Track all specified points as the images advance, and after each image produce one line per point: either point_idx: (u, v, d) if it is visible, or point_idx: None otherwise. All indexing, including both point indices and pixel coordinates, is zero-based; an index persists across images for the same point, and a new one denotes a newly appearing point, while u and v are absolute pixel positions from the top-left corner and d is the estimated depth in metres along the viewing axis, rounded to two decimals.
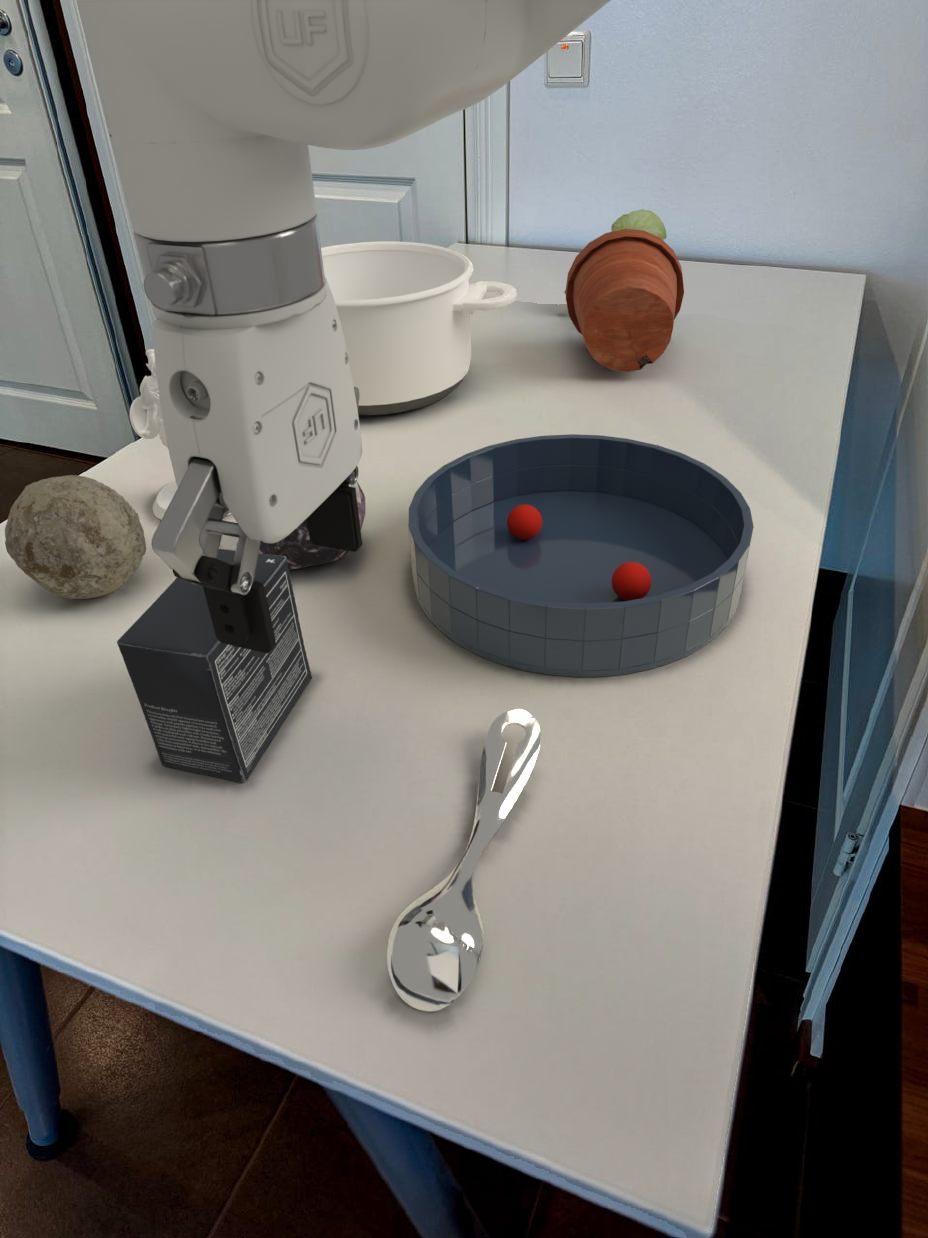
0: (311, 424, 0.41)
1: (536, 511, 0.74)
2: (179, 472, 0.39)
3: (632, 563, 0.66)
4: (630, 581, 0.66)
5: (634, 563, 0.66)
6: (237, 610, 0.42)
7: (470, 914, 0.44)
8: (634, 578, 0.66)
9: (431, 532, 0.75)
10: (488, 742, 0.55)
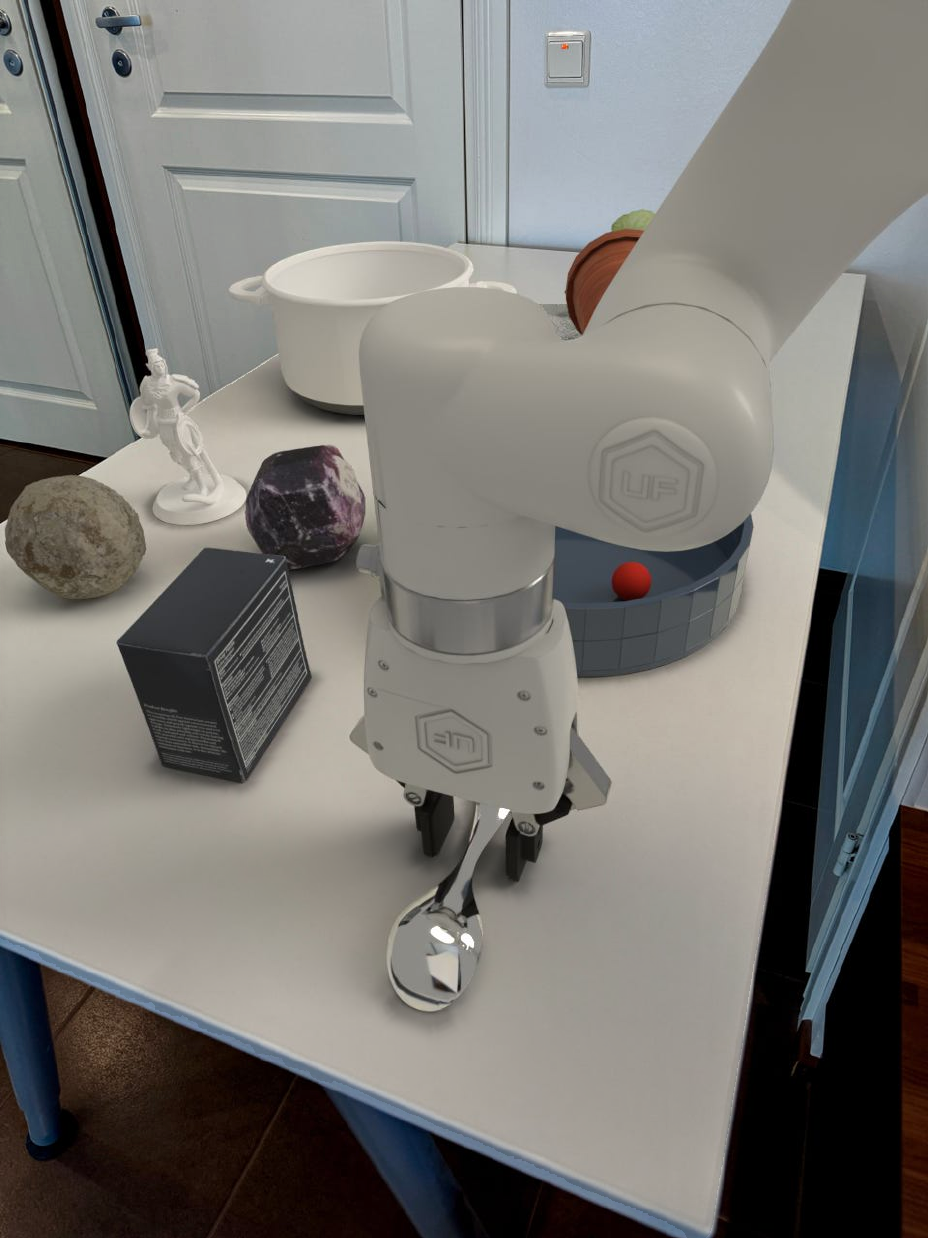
0: (446, 736, 0.41)
1: None
2: None
3: (632, 563, 0.66)
4: (630, 581, 0.66)
5: (634, 563, 0.66)
6: (414, 807, 0.49)
7: (470, 914, 0.44)
8: (634, 578, 0.66)
9: None
10: None
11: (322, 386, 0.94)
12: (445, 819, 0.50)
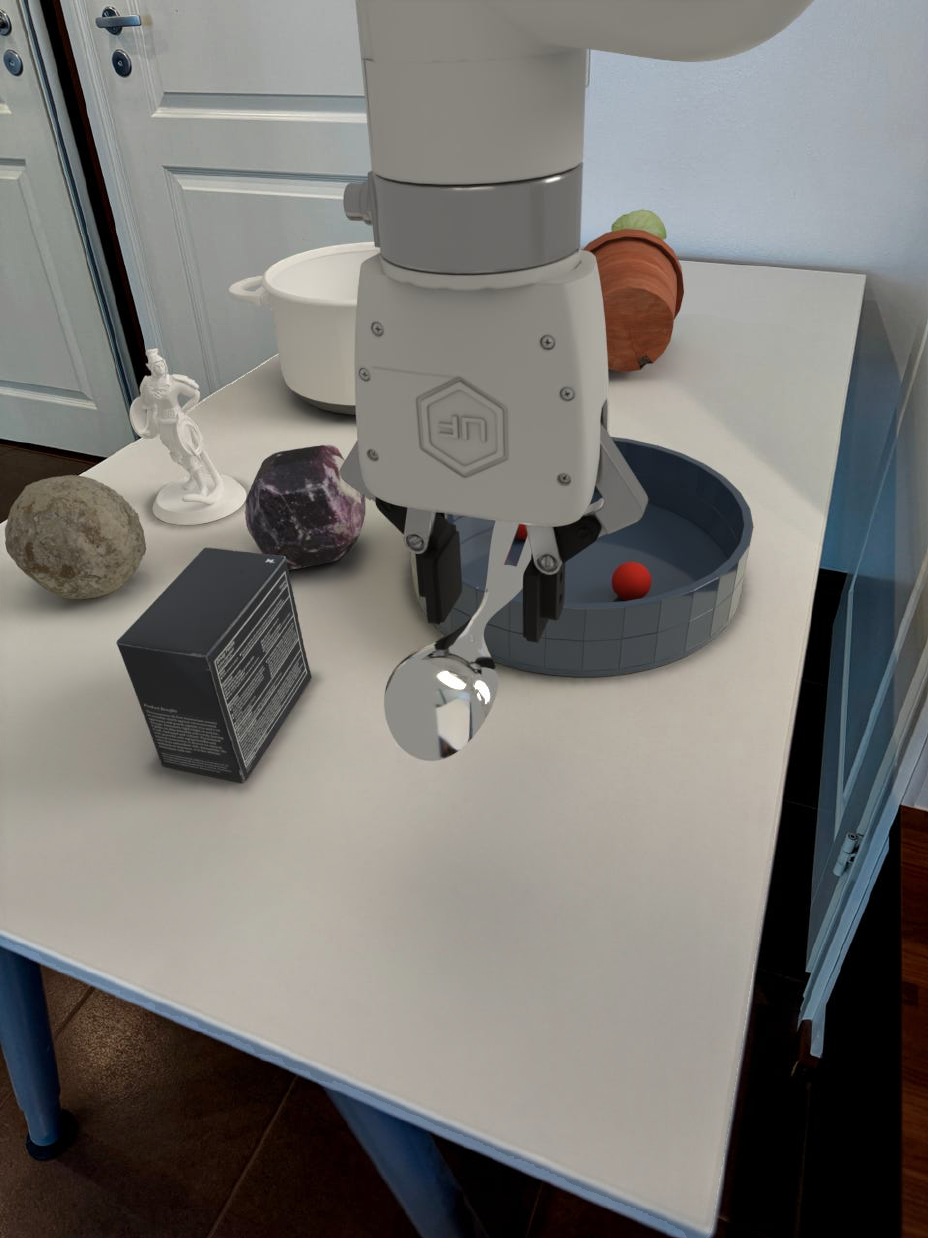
0: (453, 422, 0.34)
1: None
2: None
3: (632, 563, 0.66)
4: (630, 581, 0.66)
5: (634, 563, 0.66)
6: (416, 562, 0.42)
7: (482, 657, 0.37)
8: (634, 578, 0.66)
9: None
10: (499, 521, 0.49)
11: (322, 386, 0.94)
12: (452, 582, 0.43)
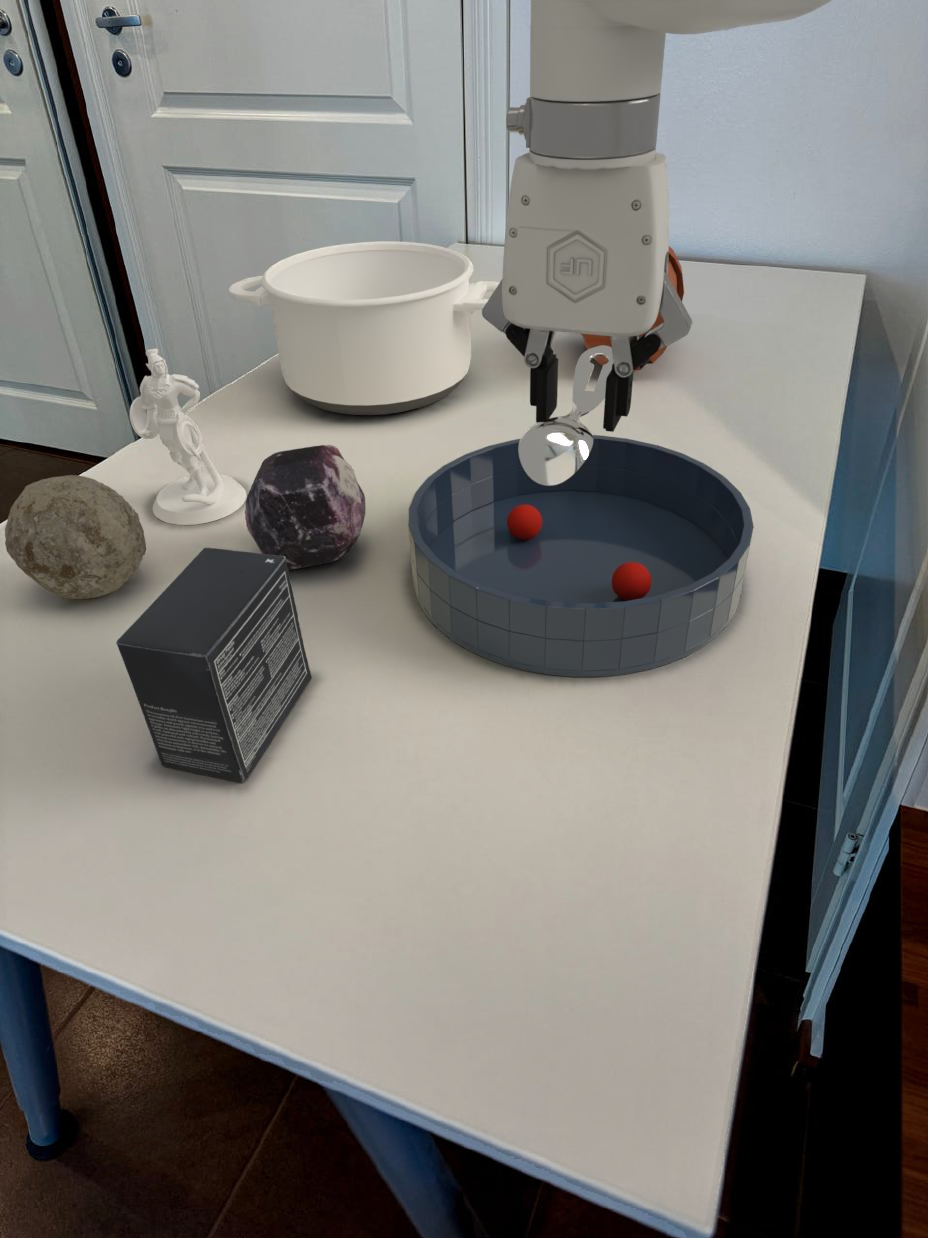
0: (571, 262, 0.54)
1: (536, 511, 0.74)
2: None
3: (632, 563, 0.66)
4: (630, 581, 0.66)
5: (634, 563, 0.66)
6: (530, 377, 0.61)
7: (582, 425, 0.57)
8: (634, 578, 0.66)
9: (431, 532, 0.75)
10: (579, 366, 0.68)
11: (322, 386, 0.94)
12: (552, 394, 0.63)
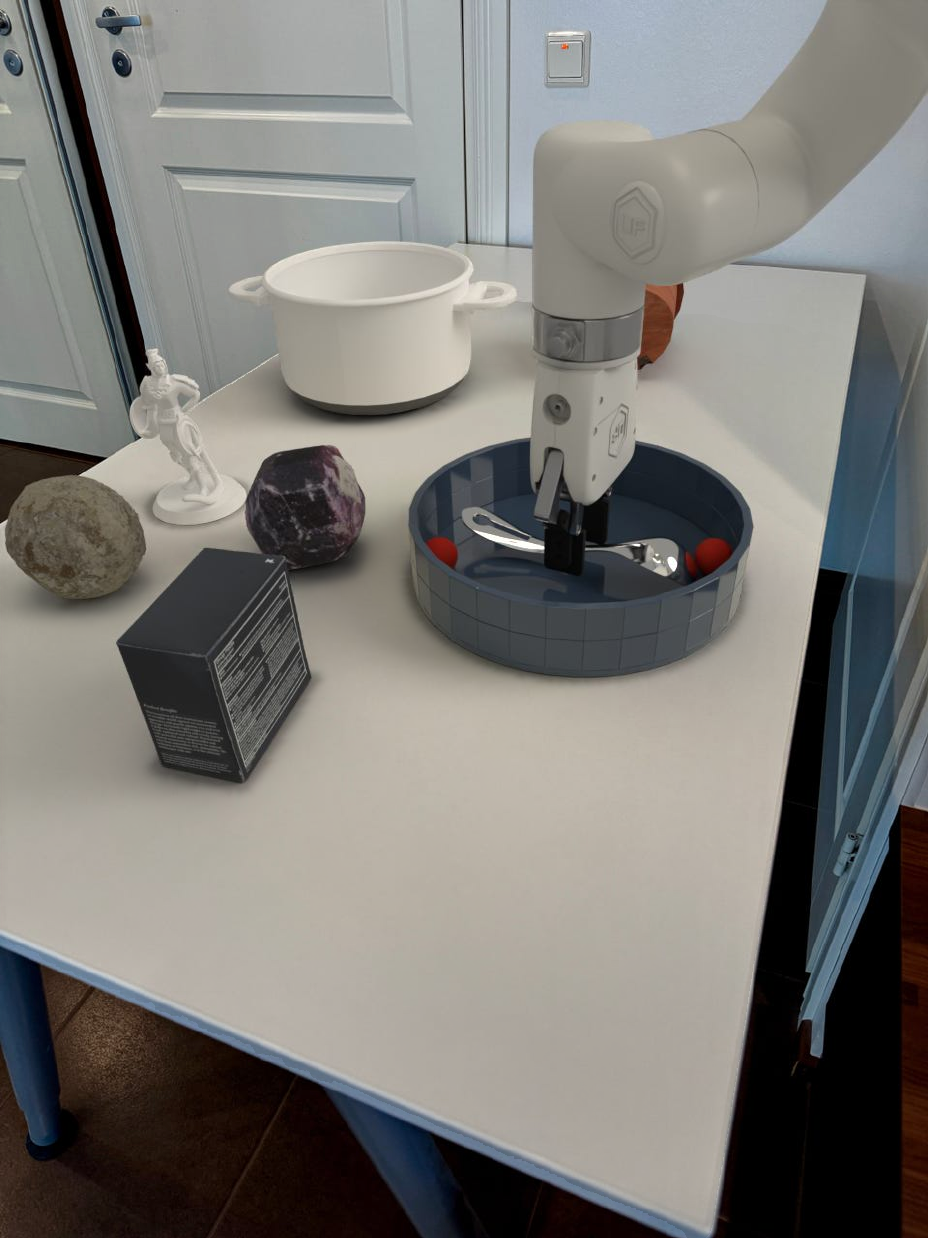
0: (617, 430, 0.63)
1: None
2: (535, 456, 0.62)
3: None
4: (704, 573, 0.70)
5: None
6: (568, 545, 0.66)
7: None
8: None
9: (431, 532, 0.75)
10: (484, 533, 0.72)
11: (322, 386, 0.94)
12: None
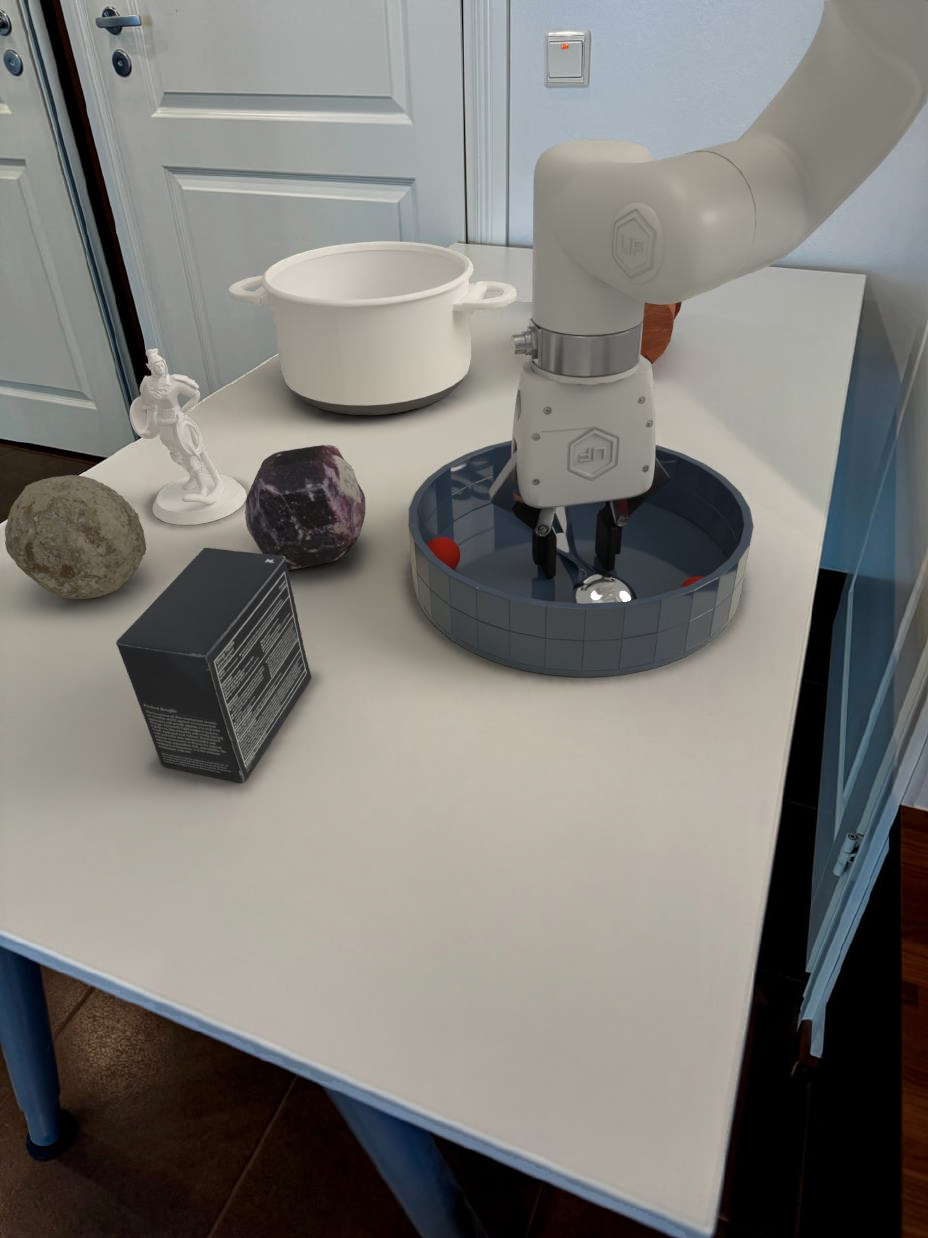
0: (588, 452, 0.62)
1: None
2: (512, 444, 0.66)
3: None
4: (693, 579, 0.65)
5: None
6: (536, 543, 0.69)
7: (614, 575, 0.66)
8: (689, 579, 0.65)
9: (431, 532, 0.75)
10: None
11: (322, 386, 0.94)
12: None
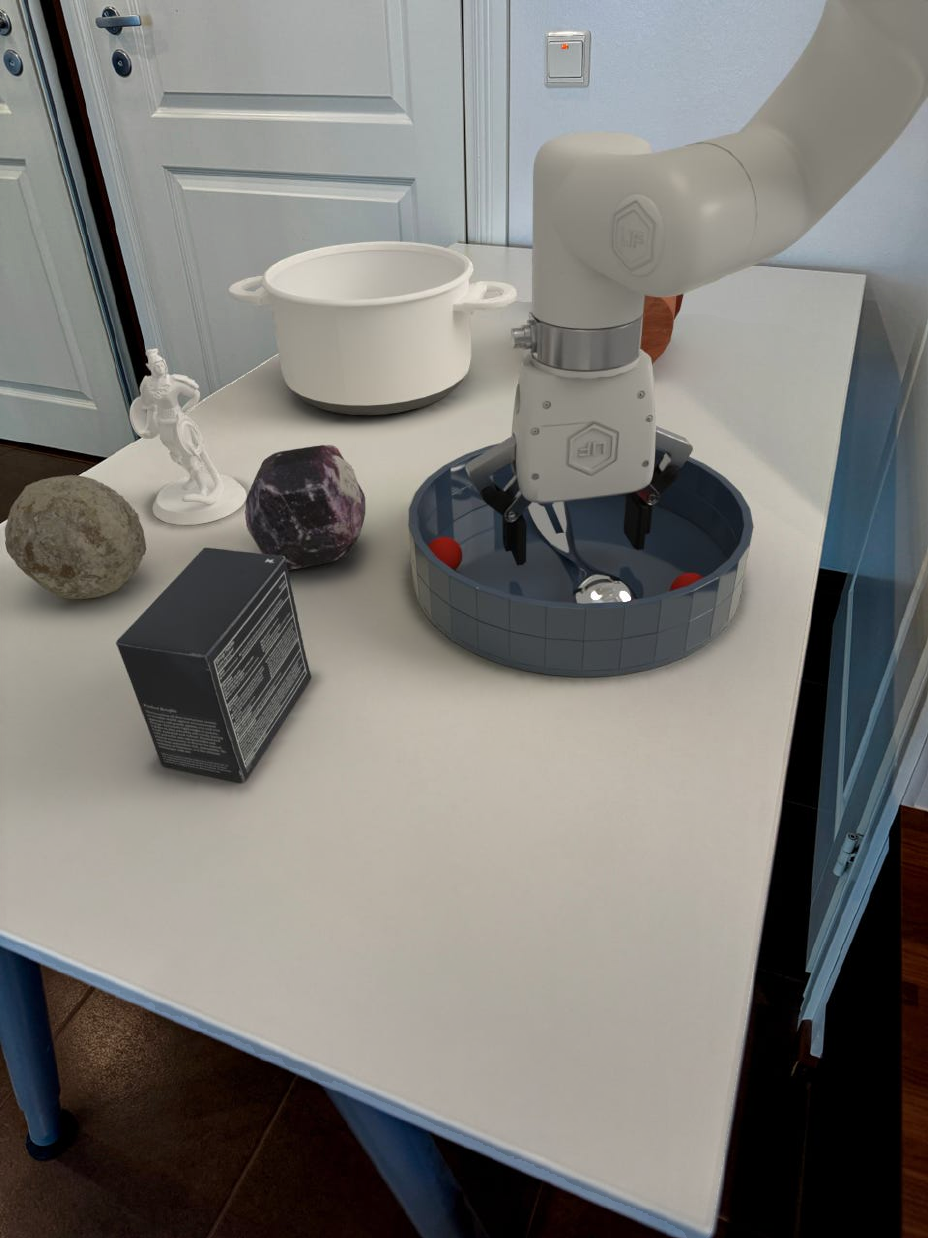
0: (588, 446, 0.62)
1: None
2: None
3: None
4: (677, 577, 0.66)
5: None
6: (506, 529, 0.68)
7: (614, 575, 0.66)
8: None
9: (431, 532, 0.75)
10: (532, 510, 0.77)
11: (322, 386, 0.94)
12: None
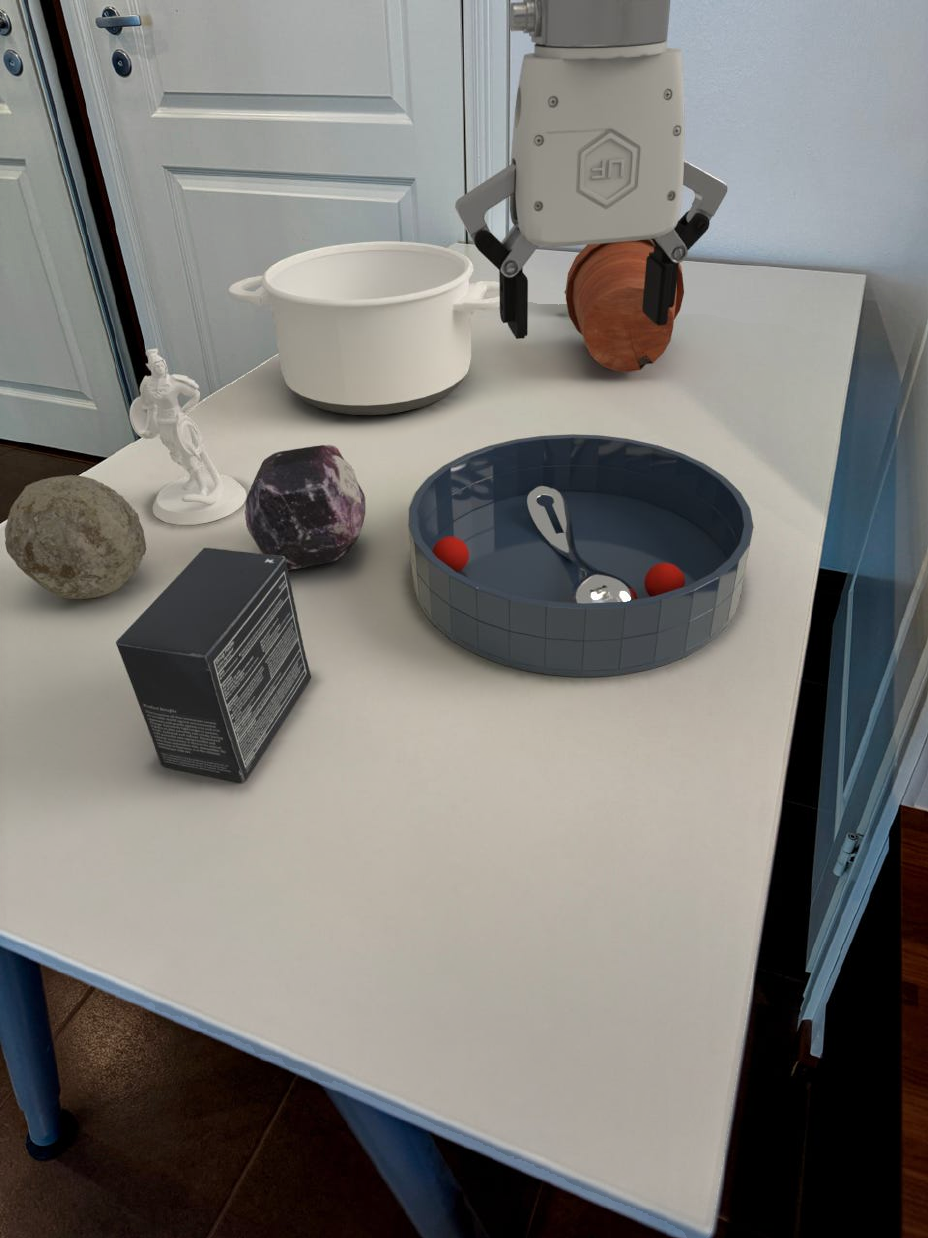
0: (602, 165, 0.51)
1: None
2: None
3: None
4: None
5: None
6: (504, 290, 0.57)
7: (614, 575, 0.66)
8: None
9: (431, 532, 0.75)
10: (532, 510, 0.77)
11: (322, 386, 0.94)
12: None
